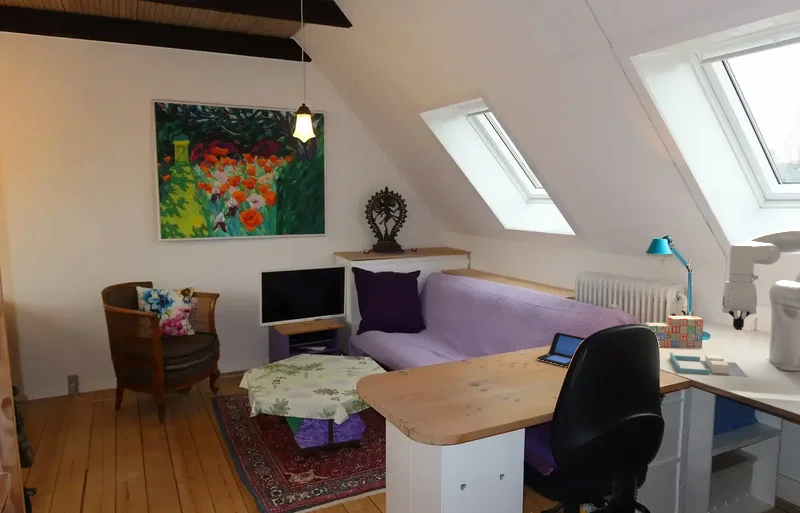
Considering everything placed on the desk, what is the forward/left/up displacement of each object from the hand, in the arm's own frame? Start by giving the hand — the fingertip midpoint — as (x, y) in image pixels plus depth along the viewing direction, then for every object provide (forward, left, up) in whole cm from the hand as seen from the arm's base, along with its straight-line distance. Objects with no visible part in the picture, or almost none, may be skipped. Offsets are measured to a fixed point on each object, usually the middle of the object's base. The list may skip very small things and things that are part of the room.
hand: (738, 329), depth 209 cm
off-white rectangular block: (+7, +8, -14) cm, 17 cm away
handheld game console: (+60, +2, -16) cm, 62 cm away
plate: (+5, +4, -15) cm, 16 cm away
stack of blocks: (+16, -31, -16) cm, 38 cm away
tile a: (+7, 0, -14) cm, 15 cm away
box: (+16, +4, -15) cm, 22 cm away
